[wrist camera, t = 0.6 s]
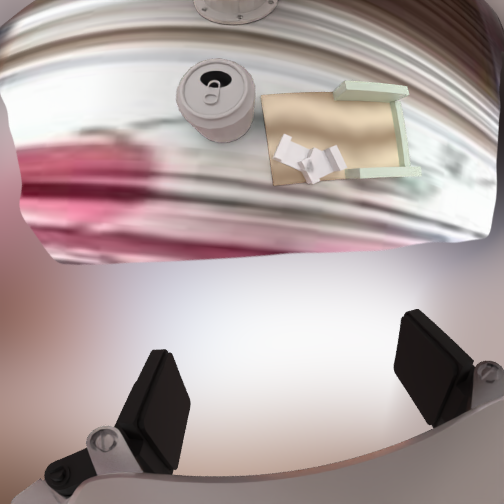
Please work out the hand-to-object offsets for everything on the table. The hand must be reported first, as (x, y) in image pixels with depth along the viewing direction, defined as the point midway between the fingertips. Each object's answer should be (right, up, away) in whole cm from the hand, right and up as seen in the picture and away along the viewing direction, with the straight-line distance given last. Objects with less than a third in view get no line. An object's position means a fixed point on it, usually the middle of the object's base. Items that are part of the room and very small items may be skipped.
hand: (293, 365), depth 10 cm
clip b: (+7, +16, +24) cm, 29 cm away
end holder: (+15, +20, +22) cm, 33 cm away
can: (-5, +22, +22) cm, 32 cm away
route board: (+10, +20, +23) cm, 32 cm away
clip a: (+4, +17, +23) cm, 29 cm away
